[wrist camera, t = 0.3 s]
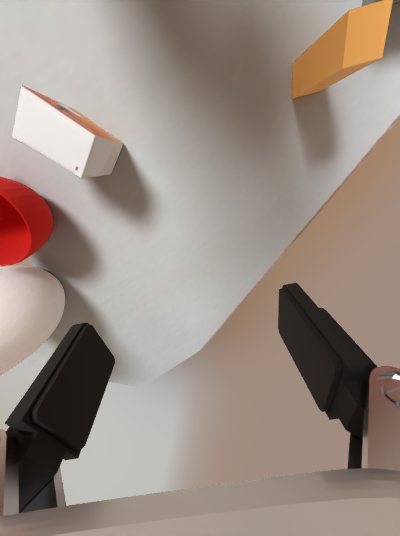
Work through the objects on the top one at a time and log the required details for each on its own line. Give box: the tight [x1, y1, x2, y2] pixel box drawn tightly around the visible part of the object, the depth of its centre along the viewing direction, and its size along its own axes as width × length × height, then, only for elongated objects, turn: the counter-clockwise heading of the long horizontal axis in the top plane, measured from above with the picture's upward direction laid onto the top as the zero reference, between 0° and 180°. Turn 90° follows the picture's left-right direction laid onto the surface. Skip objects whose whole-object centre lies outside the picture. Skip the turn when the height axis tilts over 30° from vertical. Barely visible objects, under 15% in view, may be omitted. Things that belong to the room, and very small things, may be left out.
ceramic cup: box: [0, 177, 53, 266], centre depth 30 cm, size 13×17×10 cm
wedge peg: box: [292, 0, 393, 99], centre depth 23 cm, size 4×4×11 cm
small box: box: [12, 85, 123, 179], centre depth 26 cm, size 8×6×10 cm
